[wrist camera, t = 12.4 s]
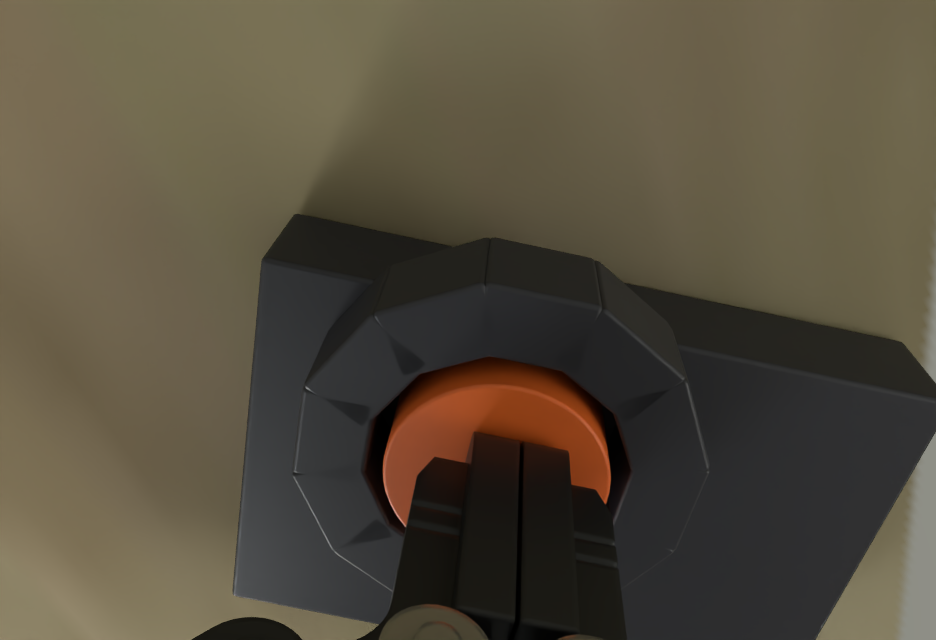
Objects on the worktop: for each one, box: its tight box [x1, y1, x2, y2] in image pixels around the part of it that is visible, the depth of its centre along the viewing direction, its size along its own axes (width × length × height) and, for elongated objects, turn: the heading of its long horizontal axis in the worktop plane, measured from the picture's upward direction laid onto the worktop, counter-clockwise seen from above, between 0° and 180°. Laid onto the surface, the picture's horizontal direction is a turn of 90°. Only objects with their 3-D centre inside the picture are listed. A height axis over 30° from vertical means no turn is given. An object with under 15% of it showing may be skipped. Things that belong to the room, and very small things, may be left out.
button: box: [383, 356, 611, 527], centre depth 14 cm, size 4×4×2 cm
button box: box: [233, 214, 936, 640], centre depth 16 cm, size 9×12×4 cm
